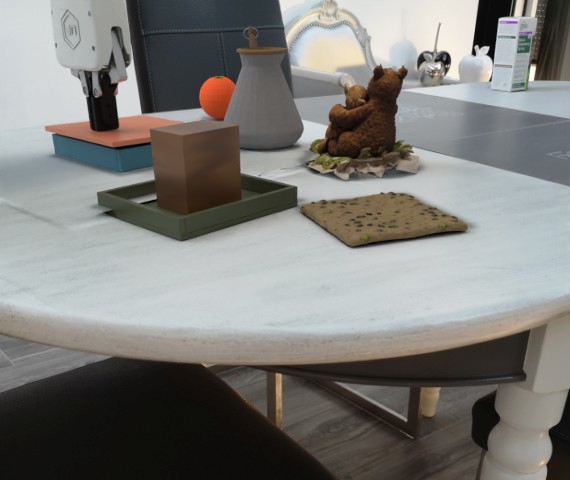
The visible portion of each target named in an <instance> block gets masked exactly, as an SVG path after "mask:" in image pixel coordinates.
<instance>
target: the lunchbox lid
mask: <svg viewBox="0 0 570 480" xmlns="http://www.w3.org/2000/svg"><path fill="white" fill-rule="evenodd" d="M118 119H119V128H118V129H115V130H108V131H102V132H99V131H94V130H91V128H90V122H89V120H88V121H87V120H86V121H78V122H70V123H60V124H51V125H44V130H45V132H48V133H52V134H55V133H57V134H61V135H65V136H69V137H73V138H77V139H81V140H85V141H89V142H94V143H98V144H102V145H106V146H110V147H119V146H126V145H133V144H140V143H147V142H151V137H150V129H151V128H157V127H163V126H169V125H176V124H182V123H185V122H184V121H178V120H173V119H168V118H161V117H155V116H150V115H145V114H140V115H133V116H123V117H118Z"/></svg>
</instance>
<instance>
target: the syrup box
mask: <svg viewBox="0 0 570 480" xmlns="http://www.w3.org/2000/svg"><path fill="white" fill-rule="evenodd" d="M537 26H538V17H536V16H503V17H499V18H498V23H497V32H496V41H495V48H494V56H493V57H494V58H493V67H492V74H491V83H490V89H491V90H494V91H500V92H507V93H508V92H509V93H512V92H518V91H527V90H528V88H529V81H530V73H531V66H532V60H533V52H534V46H535V40H536V39H535V38H536V33H537Z"/></svg>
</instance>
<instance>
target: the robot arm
mask: <svg viewBox="0 0 570 480" xmlns="http://www.w3.org/2000/svg"><path fill="white" fill-rule="evenodd" d="M49 1H50V3H49V4H50V16H51V17H50V18H51V27H52V34H53V35H52V36H53V43H54V44H53V45H54V52H55V57H56V61H57V63H58V64H59V65H60V66H61V67H63V68H66V69H70V74H71V75H72V76H73V77H74V78H76V79H78V80H79V81H80V85H81V89H82V93H83V95H84V96H85V99H86V107H87V113H88V114H87V115H88V121H89V122H90V128H91V130H94V131H99V132H102V131H108V130H115V129H118V128H119V119H118V118H119V112H118V103H117V102H118V101H117V96H118V94H119V84H120V83H124V82H127V80H128V77H129V76H128V72H127V68H129V66H131V64H132V59H133V57H132V56H133V55H132V54H133V53H132V41H131V31H130V25H129V20H128V13H127V6H126V2H125V0H49Z"/></svg>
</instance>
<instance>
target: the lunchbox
mask: <svg viewBox="0 0 570 480" xmlns="http://www.w3.org/2000/svg"><path fill="white" fill-rule="evenodd" d="M51 138H52V143H53V149H54V154H55V155H57V156H62V157H64V158H68V159H72V160H75V161H79V162H83V163H87V164H90V165H92V166H97V167H100V168H104V169H108V170H110V171H115V172H118V173H128V172H133V171H137V170H143V169H147V168H152V167H153V157H152V147H151V142H147V143H140V144H133V145H126V146H119V147H110V146H106V145H102V144H98V143H94V142H89V141H85V140H81V139H77V138H73V137H69V136H65V135H61V134H57V133H52V134H51Z"/></svg>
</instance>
